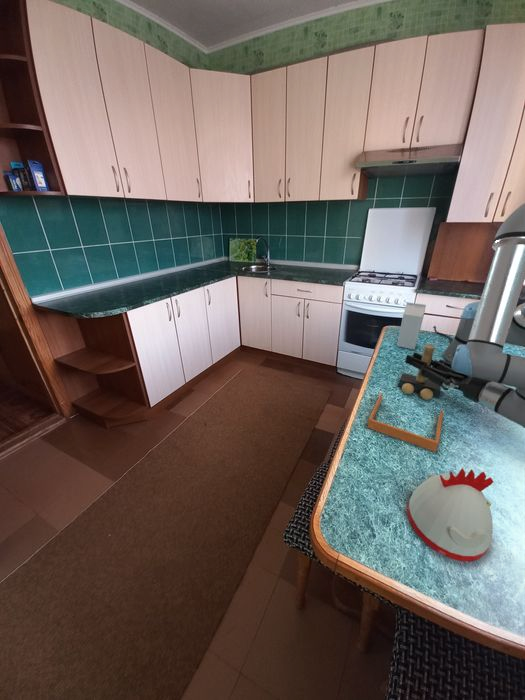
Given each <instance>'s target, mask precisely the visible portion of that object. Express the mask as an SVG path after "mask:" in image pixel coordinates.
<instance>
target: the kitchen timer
mask: <svg viewBox="0 0 525 700" xmlns="http://www.w3.org/2000/svg"><path fill="white" fill-rule="evenodd" d="M493 483H494V480H493V479H492V476H490V477H488V478H487V475H486V473H485V471H481V472H480V473H478V475H477V476H476V474H475V472H474V469H470V470H469V472H468V473H467V475H466V470H465V469H464V468H463V467H462V468H461V469H460V470H459V472H458V473H454V472H453V471H452V470H451V471H449V473H440V474H435V473H429V474H428V475H427V479H426V480H424V481H423V482H422V483H421V484H419V485H418V486H417V487H416V488H415V489H414V491H413V492H412V494H411V496H410V498H409V500H408V503H407V510H406V511H407V517H408V520H409V523H410V525H411V526H412V528H413V530H414V532H415V533H416V534H417V536H418V537H419V538H420V539H421V540H422V541H423V543H425V544H426V545H427V546H429V547H430V548H431V549H432V550H434V551H435V552H437V553H438V554H440V555H443V556H444V557H445V558H449V559H452V560H456V561H459V562H474V561H478V560H480V559H482V557H483V556H484V555H485V554H486V553H487V551H488V550H489V548H490V546H491V542H492V538H493V529H494V528H493V516H492V511H491V506H492V503H490V501H489V500H488V499H487V498H486V496H485V495H484V493H483V491H484V490H485V489H487V488H488V487H490V486H491V485H492V484H493Z"/></svg>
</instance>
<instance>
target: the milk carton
mask: <svg viewBox="0 0 525 700" xmlns="http://www.w3.org/2000/svg"><path fill="white" fill-rule="evenodd" d="M426 306H427V305H426V304H422V303H415V302H408V301H407V302H406V304H405V307H404V311H403V314H402V319H401V323H400V327H399V331H398V337H397V342H396V347H400V348H405V349H408V350H415V349H416V346H417V344H418V340H419V336H420V332H421V329H422V324H423V320H424V316H425V313H426Z"/></svg>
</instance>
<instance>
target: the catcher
mask: <svg viewBox="0 0 525 700" xmlns="http://www.w3.org/2000/svg"><path fill="white" fill-rule="evenodd" d="M383 396H384V392H380V395H379V396H378V399H377V401H376V403H375V405H374V407H373V409H372V411H371V414H370V416H369V418H368V420H367V425H366V426H367V427H366V428H367V429H370V430H373V431H376V432H378V433H381V434H384V435H386V436H390V437H392V438H395V439H398V440H401V441H404V442H406V443H409V444H411V445H415V446H417V447H420V448H423V449H426V450H429V451H432V452H435V453H436V452H437V450H438V447H439V444H440V437H441V431H442V422H443V417H444V410H442V409H441V410H440V412H439V414H438V418H437V425H436V428H435V429H436V431H435V437H434V439H432V438H429V437H425V436H422V435H420V434H416V433H414V432H411V431H408V430H405V429H402V428H399V427H396V426H393V425H391V424H387V423H384V422H381V421H378V420H376V419H375V416H376V415H377V412H378V410H379V407H380V406H381V403H382V401H383Z"/></svg>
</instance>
